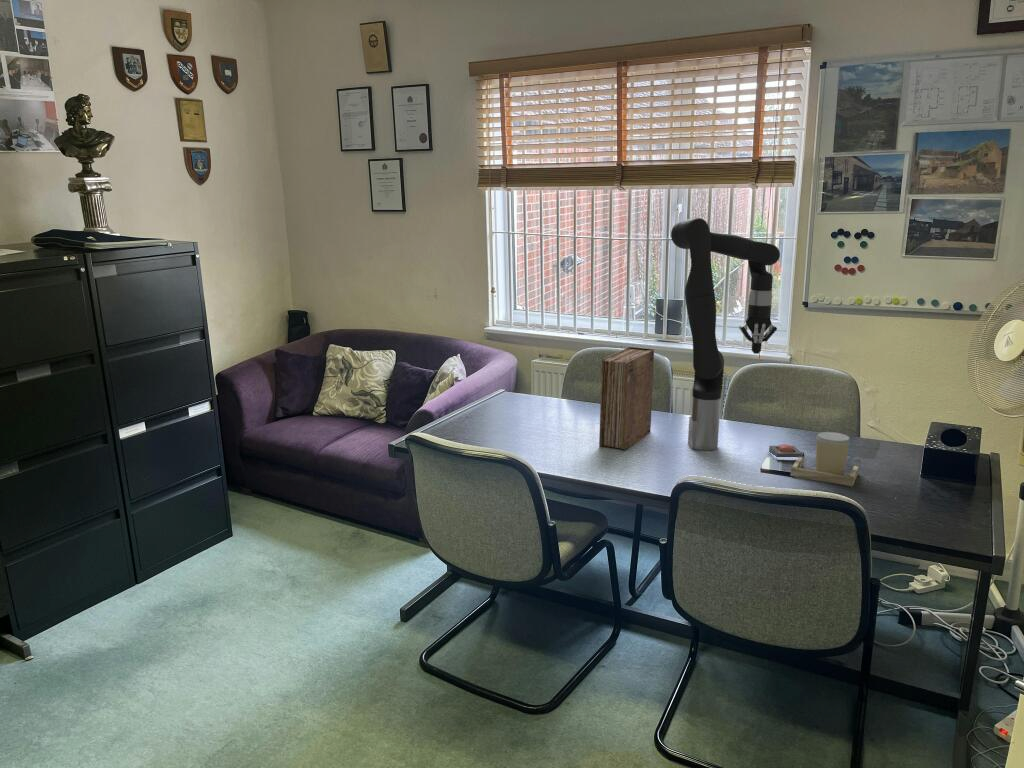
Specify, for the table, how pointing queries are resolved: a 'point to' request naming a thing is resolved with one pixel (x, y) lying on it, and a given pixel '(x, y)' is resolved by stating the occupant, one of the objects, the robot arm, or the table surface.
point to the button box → (777, 453)
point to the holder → (823, 474)
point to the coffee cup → (831, 452)
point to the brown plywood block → (626, 397)
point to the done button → (785, 448)
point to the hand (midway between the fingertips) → (756, 353)
